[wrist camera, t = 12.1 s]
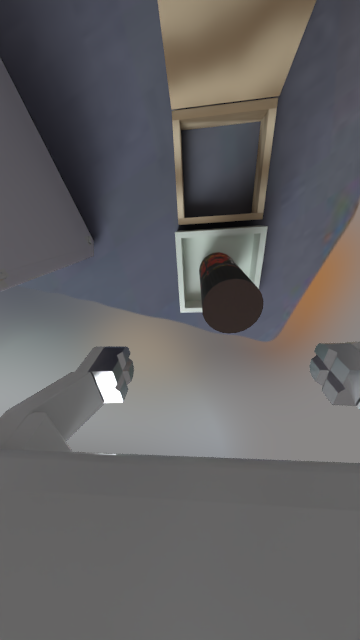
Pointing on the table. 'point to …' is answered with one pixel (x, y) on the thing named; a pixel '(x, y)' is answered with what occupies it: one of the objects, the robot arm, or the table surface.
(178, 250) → the tray
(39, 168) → the game console
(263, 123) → the frame
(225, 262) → the deodorant
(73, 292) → the table surface
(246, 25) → the beige flat board
